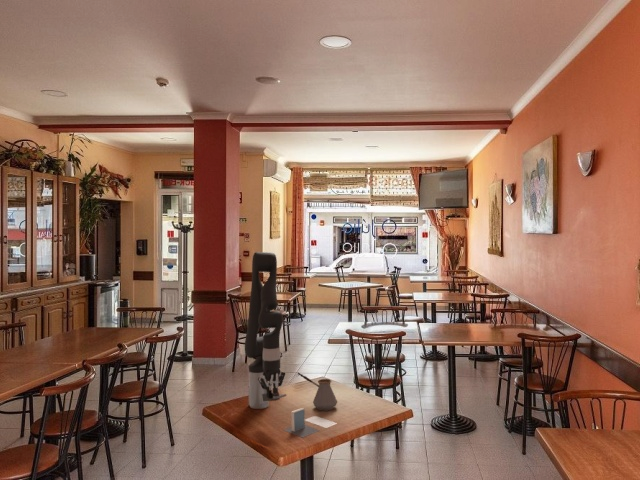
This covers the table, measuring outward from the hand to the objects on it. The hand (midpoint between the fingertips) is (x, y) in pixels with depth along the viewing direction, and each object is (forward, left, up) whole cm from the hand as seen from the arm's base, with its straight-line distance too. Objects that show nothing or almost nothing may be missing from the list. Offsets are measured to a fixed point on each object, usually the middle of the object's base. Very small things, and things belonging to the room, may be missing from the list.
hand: (272, 397), depth 223 cm
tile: (+12, +4, -12) cm, 17 cm away
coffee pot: (-4, +30, -13) cm, 33 cm away
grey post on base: (+1, 0, -1) cm, 1 cm away
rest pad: (+13, +16, -13) cm, 24 cm away
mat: (+14, +4, -13) cm, 19 cm away
